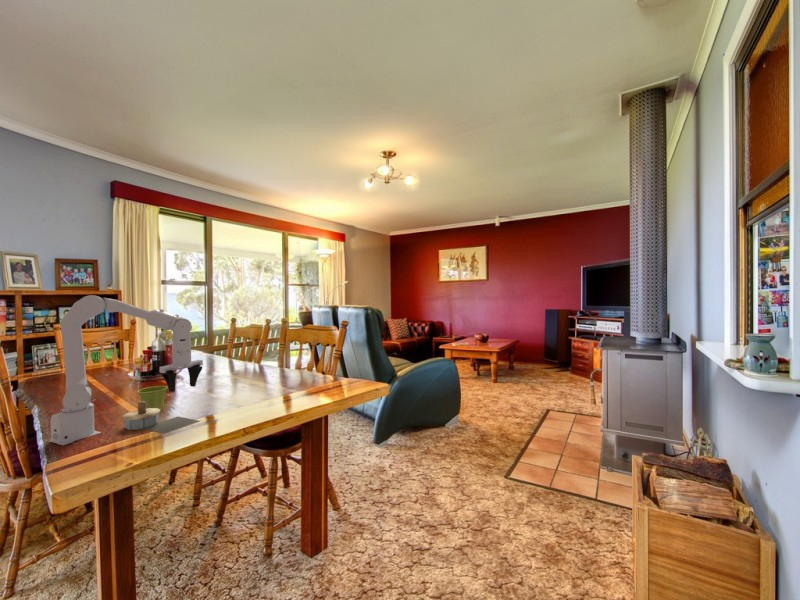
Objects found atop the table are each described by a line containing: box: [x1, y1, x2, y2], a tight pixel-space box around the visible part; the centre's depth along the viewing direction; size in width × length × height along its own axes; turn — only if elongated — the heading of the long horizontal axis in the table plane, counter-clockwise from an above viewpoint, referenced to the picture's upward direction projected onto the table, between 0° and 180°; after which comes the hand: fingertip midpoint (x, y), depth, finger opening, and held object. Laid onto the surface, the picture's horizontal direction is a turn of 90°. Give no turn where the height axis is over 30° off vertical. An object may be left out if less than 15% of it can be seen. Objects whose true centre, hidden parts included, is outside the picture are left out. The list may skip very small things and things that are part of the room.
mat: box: [141, 416, 200, 435], centre depth 116 cm, size 12×12×1 cm
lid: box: [122, 401, 161, 420], centre depth 116 cm, size 10×10×4 cm
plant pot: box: [137, 385, 168, 412], centre depth 131 cm, size 9×9×9 cm
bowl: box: [123, 413, 160, 431], centre depth 116 cm, size 9×9×4 cm
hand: (182, 388), depth 125 cm, fingers open, 7 cm apart
